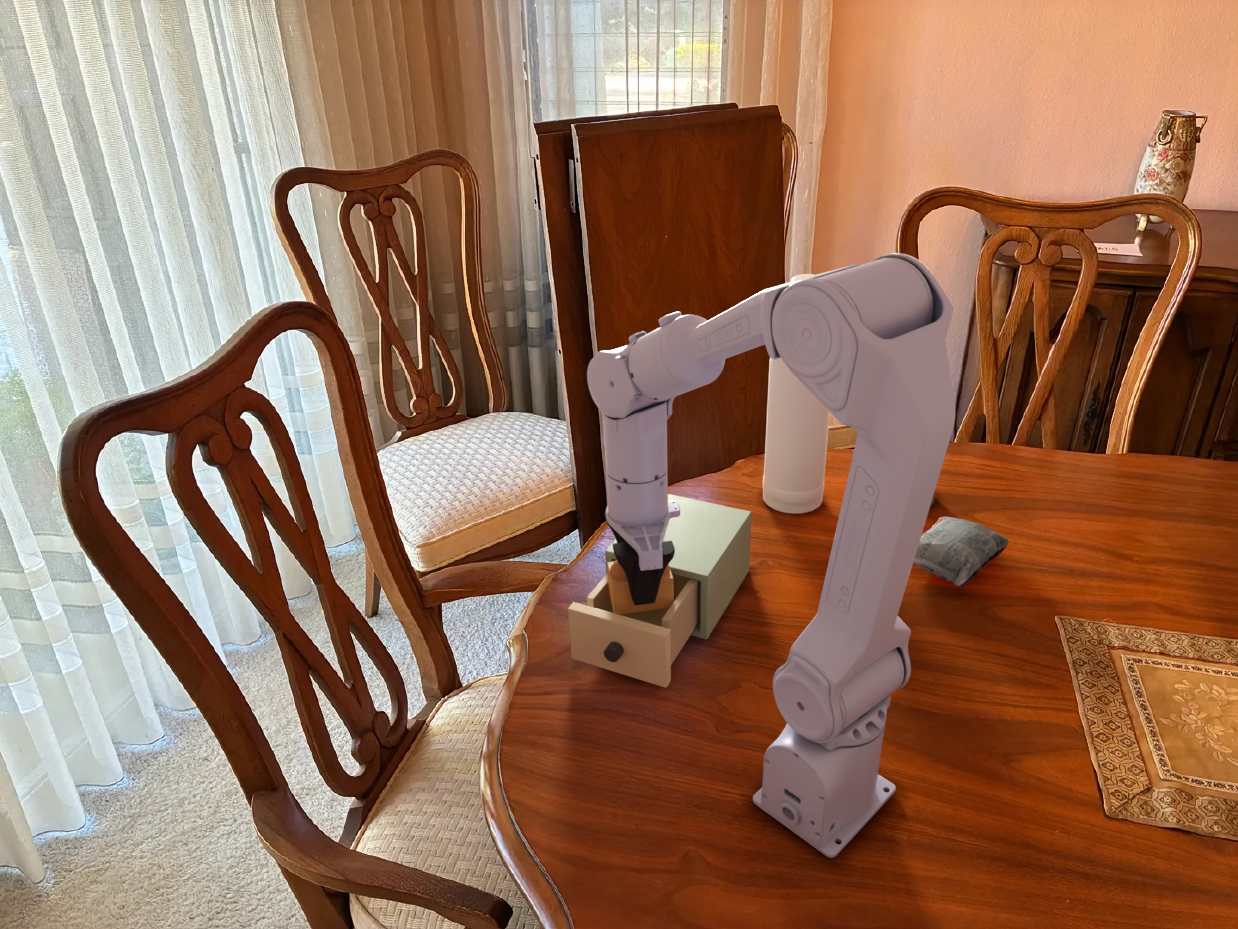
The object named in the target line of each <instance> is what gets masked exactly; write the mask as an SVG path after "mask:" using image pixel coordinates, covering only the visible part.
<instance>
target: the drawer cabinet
mask: <svg viewBox="0 0 1238 929" xmlns="http://www.w3.org/2000/svg"><path fill="white" fill-rule="evenodd" d="M668 501H677V502H678V504H679V507H680V516H678V517H673V518H670V519H669V522H668V526H667V529H666V533H665V536H664V540H663V542H664V541H672V543H673V545H674V548H675V553H674V557H673V559H672V560H671V561H670V562H669V567H670V570H671V573H672V574H676V575H679V576H683V577H687V578H691V579H695V580H699V581H701V594H700V621H699V622H698V624H697V626H696V627H695V629H694V630H693V632H692V633H691V635H690V636H692V637H695V638H699V639H703V640H708V639H709V637H710V635H711V633H712V632H713V630H714V629H715V627H716V626H717V624H718V622H719V621H720V619H721V618H722V616H723V614H724V612H725V611H726V610H727V609H728V606H729V605H730V603H731V602H732V599H733V598H734V596H735V594H736V593H737V592H738V590H739V588H740V587H741V585H742V583H743V582H744V580H745V578H746V576H747V575H748V573H749V572H750V558H751V535H752V511H751V510H746V509H740V508H738V507H737V508H736V507H732V506H727V505H722V504H718V503H713V502H708V501H703V500H699V499H694V498H690V497H686V496H680V495H675V494H671V493H668ZM613 543H617V541H616V538H615V539H614V540H613V541H612V542H611V543H610V544H609V546H608V547H607V548H606V549H605V551H604V554H605V555H604V556H605V575H606V574H607V573H608V570H607V563H608V562H615V561H616V560H617V559H616V557H615V554H614V550H613Z"/></svg>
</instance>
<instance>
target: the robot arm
mask: <svg viewBox="0 0 1238 929" xmlns="http://www.w3.org/2000/svg"><path fill="white" fill-rule="evenodd" d="M953 313H954V305H953V303H952V301H951V300H950V299H949V297H948V296H947V294H946V292H945V291H944V289H943V288H942V287H941V285H940V284H939V282H938V280H937V278H936V277H935V276H934V274H933V273H932V271H931V270H930V269H929V267H927V266H926V265H925V264H924V262H922V261H921V260H919V259H918V258H916V257H914V256H912V255H910V254H906V253H901V252H894V253H893V252H891V253H888V254H884V255H883V254H882V255H881V256H879V257H876V259H873V260H872V261H869V262H866V263H863V264H862V263H856V264H852V265H851V264H850V265H847V266H843V267H840V268H836V269H832V270H828V271H824V272H821V273H820V272H819V273H817V274H814V275H813V276H809V277H805V278H801V279H798V280H795V281H791V280H790V281H789V282H785V283H782V284H779V285H775V286H772V287H769V288H765V289H763V290H761V291H759V292H758V293H755V294H754V295H752V296H750V297H749V298H747V299H745V300H743V301H741V302H738V304H736V305H734V306H731V307H730V308H729V309H727V310H725V311H723V312H721V313H719V314H717V315H716V316H714V317H712V318H710V319H709V320H708V319H706V318H704V317H702V316H700V315H697V314H696V315H695V314H684V315H682V312H681V311H675V312H672V313H669V314H665V315H664V316H662V317H660V318H659V319H658V324H659V327H657V328H656V329H653V330H651V331H650V332H648V333H647V332H646V331H644V330H642V331H639V332H636V333H633V334H632V335H629V337H628V342H629V343H627V344H626V345H624V346H621V347H617V348H614V349H610V350H600V351H598V352H596V353H595V356H593V357H592V359H590V361H589V363H588V365H587V370H586V378H587V379H586V381H587V385H588V390H589V393H590V396H591V398H592V401H593V402H594V404H595V405H596V407H597V408H598V409H599V411H600V412H601V413H602V422H603V424H602V425H603V426H602V427H603V442H604V461H605V462H604V463H605V484H606V500H607V501H606V504H607V506H606V507H605V512H604V518H605V522H606V524H607V526H608V528H609V529H610V530H611V532H612V535H613V536H614V538H615V539H616V541H617V543H613V542H612V543H613V550H614V554H615V557H616V559H617V561H618V563H619V564H620V566H621V567H622V568H623V570H624V572H625V574H626V577H627V581H628V585H629V590H630V594H631V597H632V600H633V603H634V605H643V604H652V603H655V600H656V597H657V594H658V590H659V586H660V582H661V578H662V575H663V573H664V571H665V569H666V567H667V565H668V564H669V562H670V561H671V560H672V559H673V557H674V553H675V548H674V545H673V543H672V541H664V542H663V540H664V536H665V533H666V529H667V526H668V522H669V519H670V518H673V517H678V516H680V507H679V504H678V502H677V501H668V494H669V491H668V490H669V488H668V487H669V486H668V485H669V484H668V481H669V480H668V420H669V419H670V418H671V416H672V415H673V404H674V400H675V398H676V397H679V396H681V395H683V394H686V393H688V392H692V391H694V390H696V389H699V388H702V387H705V386H707V385H710V384H711V383H713V382H715V381H716V380H717V379H718V378H719V377H720V375H721V374H722V372H723V370H724V367H725V364H726V359H729V358H733V357H735V356H737V355H741V354H743V353H746V352H748V351H751V350H753V349H757V348H759V347H762V346H765V349H766V352H767V355H768V356H769V358H770V357H771V358H772V359H775V360H776V359H778V358H782V360H783V362H784V363H785V364H786V366H787V367H788V368H789V369H790V370H791V372H792V373H793V374H794V375H795V376H796V377H797V378H798V379H799V380H800V381H801V382H802V383H803V384H804V385H805V386H806V387H807V388H808V390H809V391H810V392H811V393H812V394H813V395H814V396H815V397H816V398H817V399H818V400H819V401H820V402H821V403H822V404H823V405H824V406H825V407H826V408H827V409H828V410H829V411H830V414H831V415H832V416H833V417H834V418H835V419H836V420H837V421H838V422H839V423H840V424H841V425H843V426H846V427H850V428H853V429H854V430H855V432H856V435H857V436H856V440H855V446H854V449H853V453H852V458H851V462H850V467H849V472H848V476H847V480H846V483H845V489H844V493H843V498H842V502H841V507H840V511H839V514H838V515H839V516H838V519H837V523H836V528H835V533H834V536H833V542H832V546H831V550H830V554H829V559H828V564H827V569H826V572H825V576H824V581H823V585H822V590H821V594H820V599H819V602H818V608H817V612H816V614H815V616H814V617H813V618H812V620H811V621H810V622H809V624H808V625H807V626H806V627H805V628H804V630H802V632H801V633H800V635H798V637H797V639H796V640H795V641H794V642H793V644H792V645H791V647H790V648H789V652H788V653H789V654H788V657H787V659H786V661H785V663H784V664H783V665H781V666H780V667H778V668H777V670H776V671H775V672H774V674H773V677H772V692H773V698H774V701H775V704H776V707H777V709H778V711H779V713H780V715H781V716H782V718H783V719H784V720H785V723H786V724H785V726H784V728H783V730H782V731H781V733H780V735H779V736H778V737H777V738H776V739H775V740H774V741H773V742H772V743H771V744H770V745H769V746H768V747H767V749H766V751H765V752H764V755H763V766H762V780H761V782H762V783H761V788H760V789H758V790H757V791H756V792H755V793H754V794H753V795H752V803H753V804H754V805H756V806H757V807H758V808H759V809H761V810H762V811H763V812H765V813H767V814H768V815H769V816H771V818H773V819H774V820H776V821H777V822H779V823H780V824H781V825H783V826H784V827H786V828H787V829H788V830H789V831H791V832H792V833H794V834H795V835H797V836H798V837H799V838H800V839H802V840H804V841H805V842H806V843H807V844H809V845H810V846H812V848H815V849H816V850H817V851H819V852H820V853H821V854H823V855H824V856H826V857H827V858H830V859H834V858H836V857H837V856H838V855H839V854H840V853H841V852H842V851H843V849H845V847H846V846H847V845H848V844H849V843H850V842H851V841H852V840H853V839H854V837H856V835H857V834H858V833H860V831H861V830H862V829H863V828H864V827H865V825H866V824H867V823H869V821H870V820H871V819H872V818H873V817H874V816H875V815H876V814H877V813H878V812H879V811H880V810H881V809H882V807H883V806H884V805H885V804H886V803H887V802H888V801H889V799H891V798H892V796H893V795H895V793H896V789H897V787H896V785H895V784H894V783H893V782H891V781H889V779H887V778H885V777H883V776H882V775H880V774H879V770H880V769H879V768H880V763H881V756H882V748H883V742H884V734H885V729H886V723H887V722H886V721H887V716H888V715H887V714H888V708H889V707H890V706H891V700H892V694H893V693H894V692H897V691H900V690H902V688H904V687H905V686H907V683H908V682H909V680H910V677H911V672H912V664H911V658H910V653H909V641H910V637H911V634H912V630H911V628H910V627H909V626H908V625H907V624H906V623H905V622H904V620H902V618H901V617H900V616H898V615H899V612H900V608H901V605H902V601H903V598H904V594H905V591H906V589H907V585H908V581H909V578H910V575H911V571H912V568H913V566H912V565H913V562H914V558H915V555H916V552H917V548H918V545H919V542H920V538H921V535H922V534H923V533H924V532H923V531H924V528H925V524H926V522H927V518H928V514H929V512H930V508H931V506H932V505H931V502H932V498H933V495H934V496H935V493H936V492H935V491H936V488H937V485H938V481H939V478H940V475H941V471H942V468H943V465H944V461H945V458H946V456H947V455H946V454H947V451H948V448H949V444H950V442H951V437H952V436H953V431H954V429H955V428H954V427H955V421H956V405H955V397H954V391H953V384H952V383H953V382H952V377H951V376H952V375H951V371H950V369H951V368H950V363H949V356H948V350H947V343H946V339H947V335H948V331H949V328H950V325H951V320H952V317H953ZM930 505H931V506H930ZM838 843H839V844H838Z"/></svg>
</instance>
